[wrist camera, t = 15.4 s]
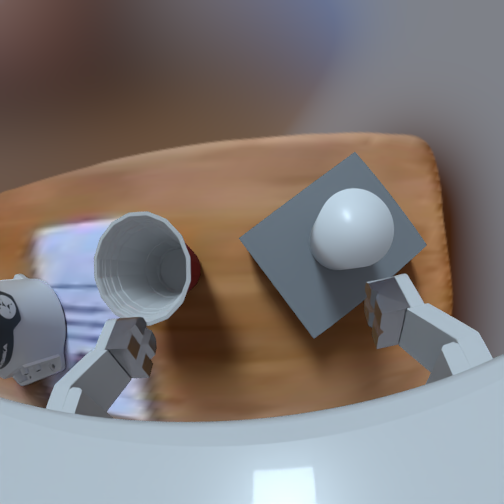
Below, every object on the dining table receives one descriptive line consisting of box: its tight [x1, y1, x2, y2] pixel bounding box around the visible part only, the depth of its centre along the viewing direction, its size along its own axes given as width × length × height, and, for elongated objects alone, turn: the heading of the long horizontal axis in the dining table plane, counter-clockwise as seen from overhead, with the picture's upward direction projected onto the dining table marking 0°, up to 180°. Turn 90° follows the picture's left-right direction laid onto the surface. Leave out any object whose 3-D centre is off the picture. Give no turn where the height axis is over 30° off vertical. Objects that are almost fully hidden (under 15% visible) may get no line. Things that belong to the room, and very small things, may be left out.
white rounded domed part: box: [309, 188, 394, 270], centre depth 26 cm, size 6×6×9 cm
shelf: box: [239, 152, 426, 338], centre depth 34 cm, size 16×13×6 cm
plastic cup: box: [94, 212, 200, 325], centre depth 33 cm, size 11×11×12 cm
